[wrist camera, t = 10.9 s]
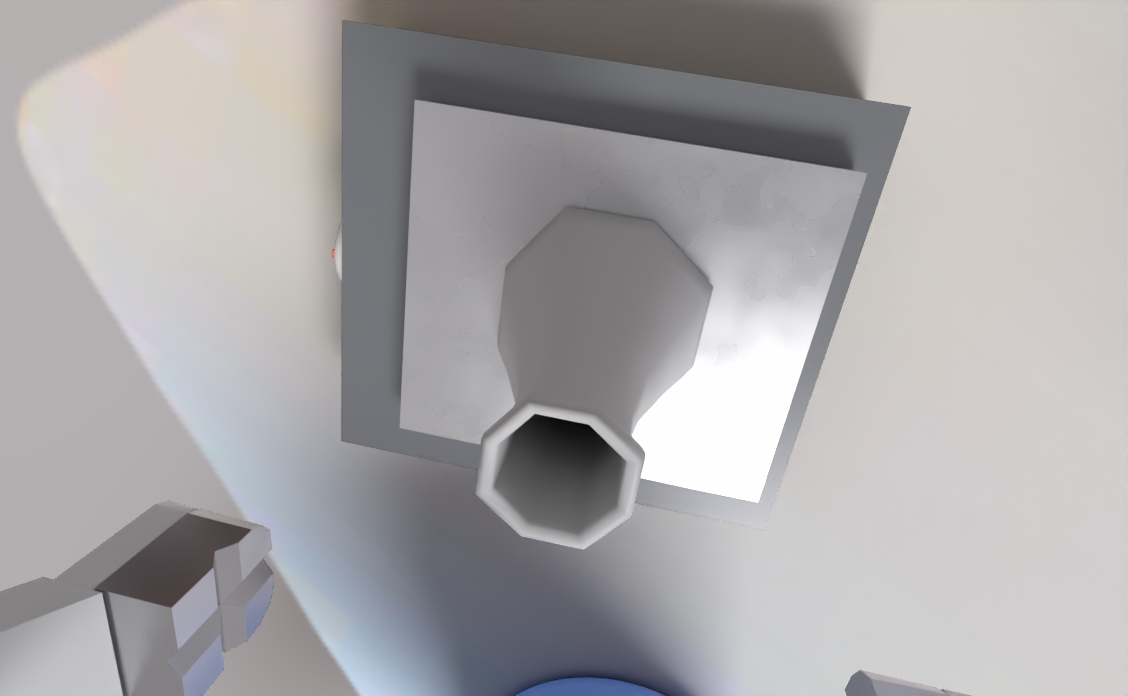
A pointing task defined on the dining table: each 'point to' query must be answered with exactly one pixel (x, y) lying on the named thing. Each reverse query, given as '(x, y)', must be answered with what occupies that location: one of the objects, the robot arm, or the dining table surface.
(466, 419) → the pan
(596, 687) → the water jug
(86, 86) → the dining table surface
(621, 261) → the flask
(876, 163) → the base
